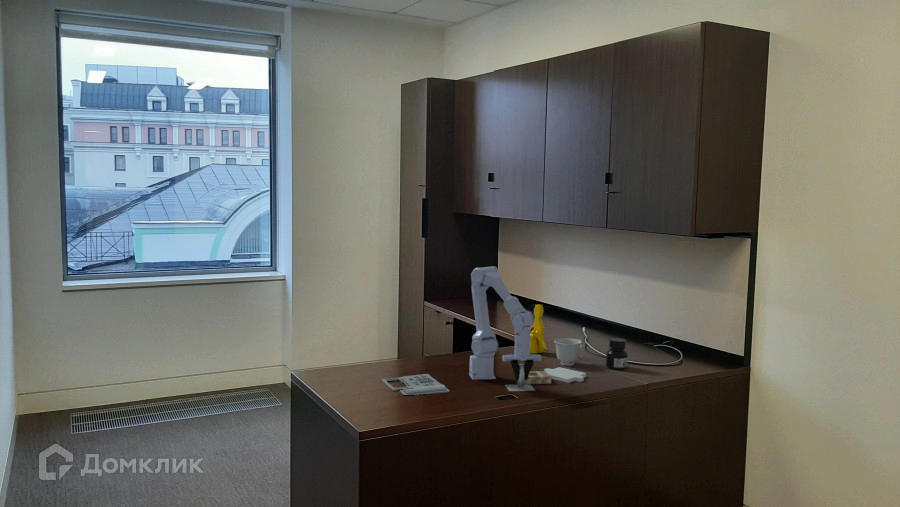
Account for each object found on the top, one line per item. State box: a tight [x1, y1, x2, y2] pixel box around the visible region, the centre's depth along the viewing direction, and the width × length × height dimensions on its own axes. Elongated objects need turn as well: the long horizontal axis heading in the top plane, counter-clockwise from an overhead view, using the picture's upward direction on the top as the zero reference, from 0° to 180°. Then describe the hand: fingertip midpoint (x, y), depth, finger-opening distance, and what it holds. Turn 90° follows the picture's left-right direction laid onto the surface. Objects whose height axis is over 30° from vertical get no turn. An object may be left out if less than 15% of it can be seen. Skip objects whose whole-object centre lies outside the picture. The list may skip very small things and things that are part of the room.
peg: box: [516, 363, 526, 387], centre depth 266 cm, size 3×3×8 cm
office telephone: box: [380, 373, 450, 396], centre depth 268 cm, size 23×3×20 cm
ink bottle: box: [605, 337, 629, 371], centre depth 299 cm, size 10×9×12 cm
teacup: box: [553, 337, 584, 366], centre depth 305 cm, size 12×15×10 cm
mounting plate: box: [543, 366, 587, 384], centre depth 284 cm, size 18×13×2 cm
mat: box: [504, 384, 536, 392], centre depth 267 cm, size 10×8×1 cm
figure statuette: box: [530, 304, 548, 354], centre depth 323 cm, size 18×8×22 cm, turn 42°
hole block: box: [525, 370, 552, 385], centre depth 276 cm, size 12×8×3 cm, turn 98°
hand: (521, 379), depth 267 cm, fingers closed on peg, 3 cm apart
